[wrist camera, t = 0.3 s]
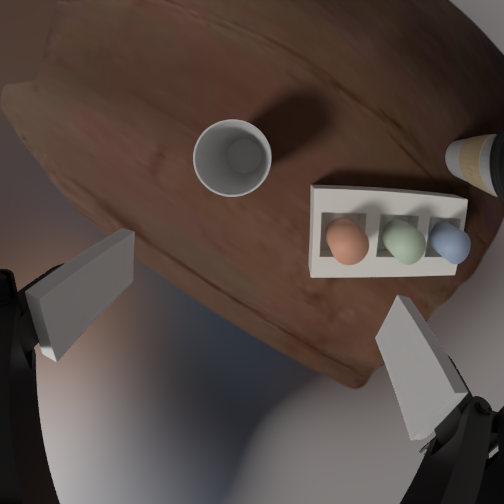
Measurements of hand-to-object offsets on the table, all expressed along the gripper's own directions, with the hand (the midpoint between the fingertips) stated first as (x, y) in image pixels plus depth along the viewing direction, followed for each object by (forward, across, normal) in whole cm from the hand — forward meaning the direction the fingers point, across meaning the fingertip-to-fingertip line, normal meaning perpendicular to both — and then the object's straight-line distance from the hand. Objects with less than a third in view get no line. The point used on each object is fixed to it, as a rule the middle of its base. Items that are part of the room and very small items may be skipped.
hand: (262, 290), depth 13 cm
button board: (+27, +17, 0) cm, 32 cm away
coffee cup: (+27, +27, +14) cm, 41 cm away
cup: (+27, -5, +4) cm, 28 cm away
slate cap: (+24, +25, +2) cm, 34 cm away
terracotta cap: (+24, +10, -2) cm, 26 cm away
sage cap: (+24, +17, 0) cm, 29 cm away
